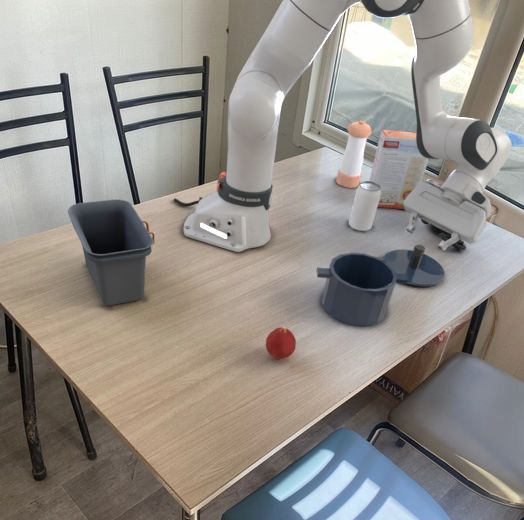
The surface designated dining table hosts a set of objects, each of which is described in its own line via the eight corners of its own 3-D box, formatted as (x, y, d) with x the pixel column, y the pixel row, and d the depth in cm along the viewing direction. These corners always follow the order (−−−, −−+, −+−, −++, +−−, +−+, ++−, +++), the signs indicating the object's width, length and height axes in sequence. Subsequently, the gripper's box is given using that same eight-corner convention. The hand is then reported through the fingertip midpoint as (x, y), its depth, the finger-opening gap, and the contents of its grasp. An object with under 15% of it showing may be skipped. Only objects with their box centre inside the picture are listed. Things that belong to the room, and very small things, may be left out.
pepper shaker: (363, 186, 168) (378, 124, 156) (344, 189, 165) (359, 126, 153) (349, 176, 173) (363, 115, 160) (331, 179, 170) (344, 117, 157)
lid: (375, 251, 140) (382, 228, 135) (432, 255, 141) (441, 233, 137) (388, 286, 128) (396, 262, 124) (450, 290, 130) (460, 267, 125)
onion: (260, 349, 106) (264, 318, 101) (287, 346, 108) (293, 315, 103) (268, 369, 102) (273, 338, 97) (296, 365, 104) (303, 335, 99)
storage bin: (72, 261, 121) (63, 203, 112) (139, 250, 127) (136, 195, 118) (95, 317, 108) (87, 257, 98) (168, 302, 114) (168, 244, 104)
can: (370, 233, 146) (382, 193, 138) (347, 229, 147) (357, 188, 139) (371, 223, 151) (383, 183, 143) (349, 218, 151) (359, 178, 143)
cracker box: (408, 201, 164) (430, 133, 150) (412, 211, 159) (435, 141, 145) (363, 197, 163) (381, 127, 149) (367, 206, 158) (385, 136, 144)
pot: (307, 284, 125) (314, 249, 119) (388, 289, 127) (400, 255, 121) (314, 323, 114) (322, 287, 108) (403, 329, 116) (416, 294, 110)
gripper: (421, 169, 131) (387, 216, 132) (496, 204, 121) (458, 253, 122) (425, 182, 136) (392, 227, 137) (497, 216, 127) (461, 264, 128)
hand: (424, 240), depth 130 cm, fingers open, 8 cm apart
